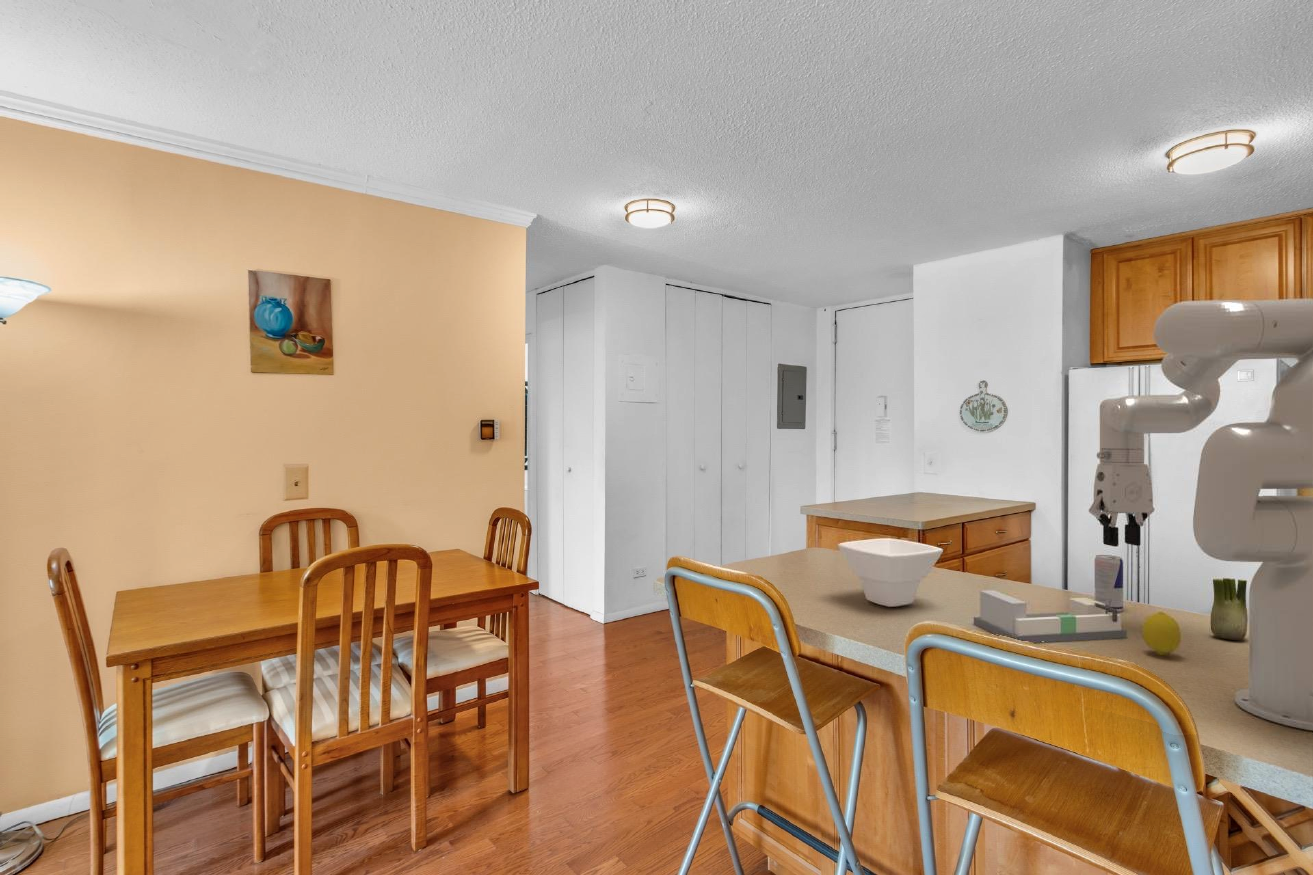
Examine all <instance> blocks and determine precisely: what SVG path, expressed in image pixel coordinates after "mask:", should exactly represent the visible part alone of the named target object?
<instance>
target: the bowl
mask: <svg viewBox="0 0 1313 875" xmlns="http://www.w3.org/2000/svg"><path fill="white" fill-rule="evenodd" d="M837 547H838V549H839V550H840V552H841V553H842V555H843V557H844V558H845V561H846V562H847V564H848V565H849V567H850V568H851V571H852V572H853V574H856V575H858V577H859V580H860V583H861V585H862V586H861V587H862V589H863V592H864V596H865V598H866V600H868V601H870V602H872V603H875V604H876V605H877V604H878V605H880V606H885V607H889V608H890V607H900V606H906V605H910V604H913V603H914V600H915V598H916V595H917V591H918V588H919V585H920V582H921V580H923V579H925V578H927V577H928V575H929V574H930V573H931V570H932V569H933V567H934V566H935V564H936V563H937V561H938V560H939V558H940V557H941V555H942V553H943V552H944V549H943V548H940V547H938V546H934V545H930V544H925V543H922V542H921V543H920V542H917V541H910V540H905V539H897V538H889V537H886V538H870V539H869V538H868V539H863V540H862V539H861V540H852V541H845V542H840V543H838V544H837Z"/></svg>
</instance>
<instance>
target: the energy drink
mask: <svg viewBox="0 0 1313 875" xmlns="http://www.w3.org/2000/svg"><path fill="white" fill-rule="evenodd" d="M1094 600H1095V601H1098V602H1101V603H1104V604H1107V605H1108V607H1110V608H1113V609H1116V610H1117V613H1121V612H1122V611H1124V560H1123V557H1121V556H1117V555H1112V554H1098V555H1096V556H1095V557H1094ZM1108 612H1109V613H1111V612H1110V611H1108Z"/></svg>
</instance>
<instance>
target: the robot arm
mask: <svg viewBox="0 0 1313 875" xmlns="http://www.w3.org/2000/svg"><path fill="white" fill-rule="evenodd" d="M1153 339H1154V343H1155V344H1156V346H1157V347H1158V348H1159V350H1161V351H1162V352H1164V353H1166V354H1165V356H1164V357H1163V359H1162V360H1161V366H1160V367H1161V371H1162V373H1163V376H1164V377H1165V378H1166V379H1167V380H1168V381H1169V382H1170V383H1171V384H1173V385H1174V386H1176V387H1177V388H1180V389H1181V390H1184V391H1183V392H1181V393H1179V394H1150V395H1149V394H1147V395H1126V396H1121V397H1119V398H1118V397H1117V398H1108V399H1106V398H1105V399H1104V400H1102V401H1101V403H1100V404H1099V451H1098V452H1097V453H1096V457H1097V459H1099V463H1097V466H1096V471H1095V476H1094V484H1093V502H1092V504H1091V506H1090V507H1089V509H1088V512H1089V514H1090V515H1092V516H1094V517H1095V518H1096V520H1097V521H1099V524H1100V526H1102V531H1103V532H1102V542H1103V545H1105V546H1111V547H1118V546H1119V527H1117V526H1116V525H1117V519H1118V515H1119V514H1125V518H1126V521H1127V524H1125V525H1124V543H1125V544H1127V545H1130V546H1131V545H1132V546H1136V547H1138V546H1141V527H1143V526H1144V524H1145V521H1146V520H1147V519H1148V517H1149V516H1151V515H1152V513H1154V512H1155V507H1154V497H1153V495H1154V494H1153V484H1152V483H1153V482H1152V477H1151V472H1150V469H1149V465H1148V464H1147V463H1145V435H1148V434H1181V433H1186V432H1189V431H1191V430H1193V429H1195V428H1197V427H1198V426H1199V425H1200V424H1202V423H1203V422H1204V421H1205V420H1206V419H1207V418H1209V417H1210V416H1211V415H1212V414H1213V413H1214V412H1215V411H1216V409H1217V407H1218V405H1219V401H1220V397H1221V385H1220V382H1219V379H1220V378H1221V377H1222V376H1223V375H1224V374H1226V373H1227V371H1229V370H1230V368H1232V367H1233V366H1234V365H1235V364H1236V363H1237V362H1239V361H1240V360H1274V359H1294V360H1297V362H1296V363H1295V364H1293V365H1292V366H1291V367H1290V368H1289V369H1288V370H1287V371H1286V372H1285V373H1284V374H1283V375H1282V377H1281V378H1280V379H1279V380H1278V382H1277V383H1276V385H1275V386H1274V388H1273V391H1272V395H1271V400H1270V409H1269V414H1268V417H1267V419H1266V420H1265V421H1264V422H1255V421H1254V422H1236V423H1230V424H1226V425H1224V426H1221V427H1219V428H1218V429H1216V430H1215V431H1213V432H1212V433H1211V434H1210V436H1209V437H1208V438H1207V439H1206V442H1204V445H1203V448H1202V450H1201V453H1200V459H1199V464H1198V465H1199V466H1198V475H1197V483H1196V492H1195V498H1194V509H1193V515H1192V528H1193V529H1192V530H1193V535H1194V538H1195V541H1196V543H1197V546H1198V547H1199V548H1200V550H1201V551H1202V552H1203V553H1205V554H1206V555H1207V556H1208V557H1211V558H1213V559H1215V560H1219V561H1225V562H1236V563H1237V562H1239V563H1241V562H1242V563H1261V564H1260V565H1259V567H1258V569H1257V570H1256V572H1255V573H1254V575H1253V576H1252V580H1251V582H1250V585H1249V591H1248V688H1243V689H1241V690H1238V691H1236V692H1235V694H1234V702H1235V703H1236V705H1237V706H1239V707H1240V708H1241V709H1242V710H1244V711H1246V712H1248V713H1250V714H1251V715H1254V716H1257V717H1259V718H1262V719H1264V720H1267V721H1270V722H1273V723H1277V724H1280V725H1283V726H1288V727H1291V728H1297V729H1302V730H1306V731H1313V497H1312V496H1303V495H1301V496H1300V495H1259V494H1260V492H1261V490H1300V489H1301V490H1305V489H1308V490H1310V489H1313V298H1286V299H1285V298H1283V299H1264V300H1263V299H1261V300H1258V299H1257V300H1242V299H1215V300H1212V299H1211V300H1208V299H1207V300H1187V301H1186V300H1185V301H1184V300H1183V301H1180V302H1177V303H1173V305H1170V306H1169V307H1167V308H1166V309H1165V310H1163V312H1161V314H1160V315H1159V316H1158V318H1157V320H1156V322H1155V324H1154V329H1153Z"/></svg>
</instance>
